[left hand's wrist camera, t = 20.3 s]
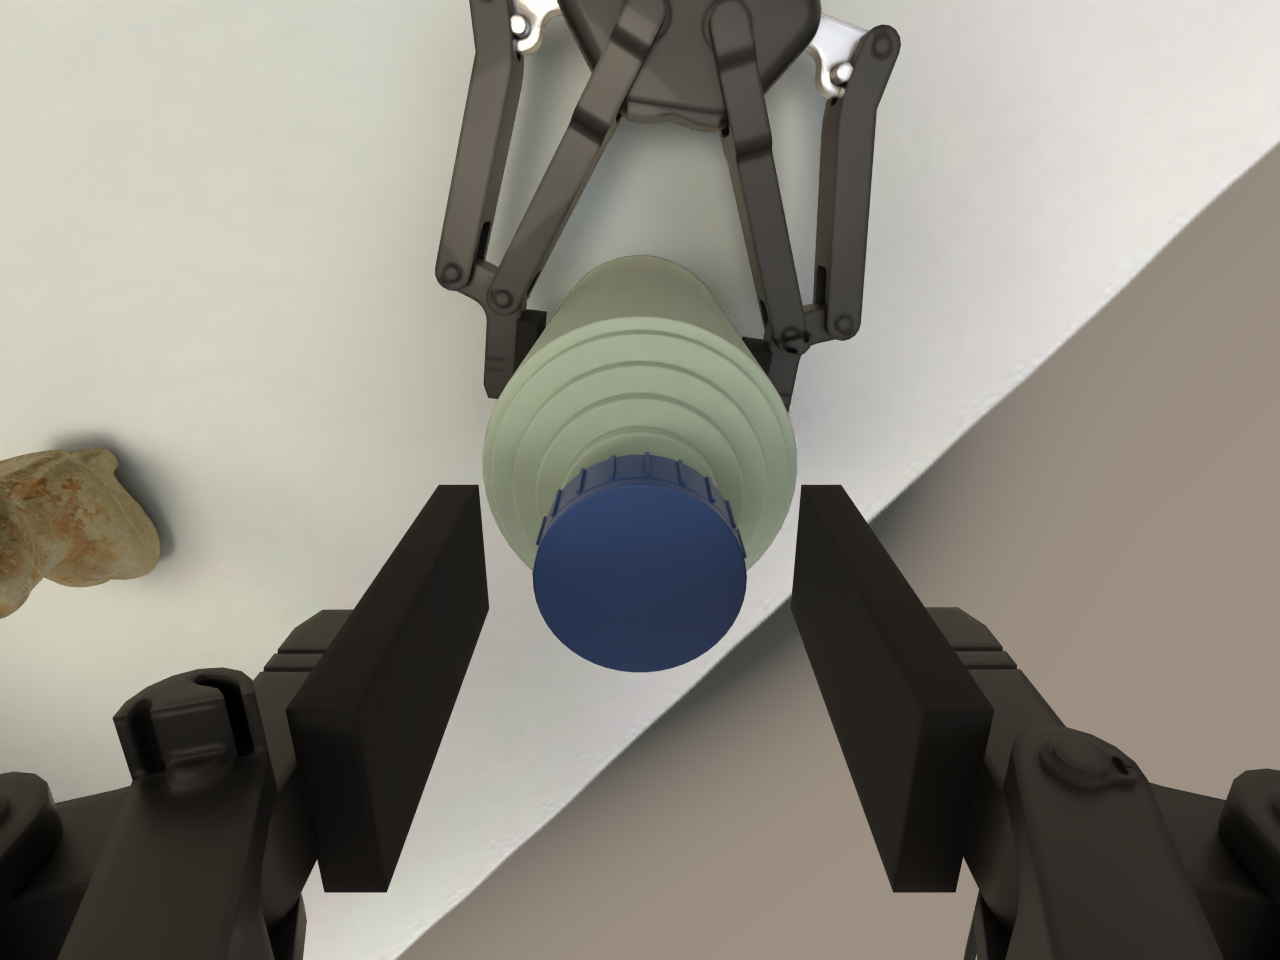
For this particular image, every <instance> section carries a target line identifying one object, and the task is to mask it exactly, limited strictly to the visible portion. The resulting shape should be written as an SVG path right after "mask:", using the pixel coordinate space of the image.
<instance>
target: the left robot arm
mask: <svg viewBox="0 0 1280 960" xmlns="http://www.w3.org/2000/svg"><path fill="white" fill-rule="evenodd" d="M488 610H489V601H488V589H487V578H486V566H485V555H484V543H483V531H482V520H481V508H480V497H479V485H438V487H437V488H436V490H435V491H434V493H433V494H432V496H431V497H430V499H429V500H428V502H427V503H426V505H425V506H424V507H423V509H422V510H421V512H420V513H419V515H418V516H417V518H416V519H415V521H414V522H413V524H412V525H411V526H410V528H409V529H408V531H407V532H406V534H405V535H404V537H403V538H402V540H401V541H400V543H399V544H398V545H397V547H396V548H395V550H394V551H393V553H392V554H391V556H390V557H389V559H388V560H387V562H386V563H385V565H384V566H383V567H382V569H381V570H380V572H379V573H378V575H377V576H376V578H375V579H374V581H373V582H372V584H371V585H370V586H369V588H368V589H367V591H366V592H365V594H364V595H363V597H362V598H361V600H360V601H359V603H358V604H357V606H356V607H355V608H354V610H322V611H320V612H318V613H317V614H315V615H314V616H312V617H311V618H309V619H308V620H306V621H305V622H303V623H302V624H300V625H299V626H297V627H296V628H295V629H294V630H293V631H292V632H291V634H290V635H289V636H288V637H287V639H286V640H285V641H284V642H283V644H282V645H281V646H280V648H279V649H278V654H274V655H273V656H272V658H271V659H270V660H269V661H268V663H267V664H266V665H265V667H264V671H263V672H260V673H259V674H258V675H257V677H256V678H255V679H254V680H253V681H252V679H251V678H249V677H248V676H247V675H245V674H244V673H243V672H242V671H238V670H233V669H228V668H208V669H197V670H193V671H189V672H186V673H182V674H178V675H174V676H171V677H169V678H167V679H164V680H162V681H160V682H158V683H155V684H153V685H151V686H149V687H146V688H145V689H144V690H142V691H141V692H139V693H138V694H136V695H135V696H134V697H132V698H131V699H129V700H128V701H126V702H125V703H124V705H123V706H122V707H121V708H120V709H119V711H118V712H117V713H116V714H115V716H114V717H113V721H114V724H115V727H116V730H117V733H118V736H119V739H120V743H121V746H122V749H123V752H124V755H125V758H126V761H127V764H128V767H129V771H130V774H131V777H132V780H133V781H132V783H131V786H128V787H124V788H121V789H118V790H113V791H109V792H104V793H100V794H95V795H91V796H86V797H81V798H77V799H72V800H68V801H63V802H59V803H55V802H54V799H53V797H52V794H51V791H50V789H49V786H48V783H47V782H46V781H44V780H43V779H42V778H40V777H39V776H37V775H36V774H31V773H21V772H10V773H4V774H0V960H303V952H304V943H305V933H306V923H307V920H306V913H305V907H304V902H303V897H302V893H301V892H302V889H303V887H304V885H305V883H306V881H307V879H308V877H309V875H310V873H311V871H312V869H313V867H314V865H315V863H316V860H317V859H318V864H319V869H320V873H321V878H322V883H323V887H324V892H387V890H388V887H389V885H390V882H391V879H392V876H393V873H394V871H395V868H396V865H397V862H398V860H399V857H400V854H401V851H402V849H403V846H404V843H405V840H406V837H407V835H408V832H409V829H410V826H411V824H412V821H413V818H414V815H415V813H416V810H417V807H418V804H419V801H420V799H421V796H422V793H423V790H424V788H425V785H426V782H427V779H428V777H429V774H430V771H431V768H432V765H433V763H434V760H435V757H436V754H437V752H438V749H439V746H440V743H441V740H442V738H443V735H444V732H445V729H446V727H447V724H448V721H449V718H450V716H451V713H452V710H453V707H454V704H455V702H456V699H457V696H458V693H459V691H460V688H461V685H462V682H463V680H464V677H465V674H466V671H467V668H468V666H469V663H470V660H471V657H472V655H473V652H474V649H475V646H476V644H477V641H478V638H479V635H480V632H481V630H482V627H483V624H484V621H485V619H486V616H487V613H488ZM791 610H792V613H793V616H794V619H795V621H796V624H797V627H798V630H799V632H800V635H801V638H802V641H803V643H804V646H805V649H806V652H807V654H808V657H809V660H810V663H811V666H812V668H813V671H814V674H815V677H816V680H817V682H818V685H819V688H820V690H821V693H822V696H823V699H824V702H825V704H826V707H827V710H828V713H829V716H830V718H831V721H832V724H833V726H834V729H835V732H836V735H837V738H838V740H839V743H840V746H841V749H842V751H843V754H844V757H845V760H846V763H847V765H848V768H849V771H850V774H851V777H852V779H853V782H854V785H855V788H856V790H857V793H858V796H859V799H860V801H861V804H862V807H863V810H864V813H865V815H866V818H867V821H868V823H869V826H870V829H871V832H872V834H873V837H874V840H875V843H876V846H877V849H878V851H879V854H880V857H881V860H882V862H883V865H884V868H885V871H886V873H887V876H888V879H889V882H890V885H891V887H892V890H893V892H956V887H957V883H958V878H959V873H960V869H961V864H962V859H963V857H964V859H965V861H966V863H967V865H968V867H969V869H970V871H971V873H972V875H973V877H974V879H975V881H976V884H977V886H978V888H979V893H978V897H977V902H976V906H975V910H974V915H973V919H972V923H971V928H970V932H969V936H968V941H967V945H966V950H965V956H964V960H975V958H976V954H977V960H1280V771H1279V770H1272V769H1258V770H1248V771H1245V772H1243V773H1242V774H1241V775H1239V776H1238V777H1237V778H1235V779H1234V781H1233V783H1232V786H1231V789H1230V791H1229V794H1228V797H1227V799H1226V800H1222V799H1218V798H1213V797H1209V796H1204V795H1199V794H1195V793H1190V792H1186V791H1181V790H1177V789H1172V788H1168V787H1163V786H1160V785H1156V784H1153V783H1149V782H1148V780H1147V778H1146V777H1145V775H1144V774H1143V773H1142V771H1141V770H1140V768H1139V767H1138V766H1137V764H1136V763H1135V762H1134V761H1133V760H1132V759H1130V758H1129V757H1128V756H1127V755H1125V754H1124V753H1123V752H1122V751H1120V750H1119V749H1118V748H1117V747H1115V746H1113V745H1111V744H1109V743H1107V742H1105V741H1103V740H1101V739H1099V738H1097V737H1095V736H1093V735H1091V734H1088V733H1084V732H1081V731H1078V730H1074V729H1071V728H1067V727H1066V726H1065V725H1064V724H1063V722H1062V721H1061V720H1060V719H1059V717H1058V716H1057V715H1056V714H1055V712H1054V711H1053V710H1052V709H1051V707H1050V706H1049V705H1048V704H1047V702H1046V701H1045V700H1044V699H1043V697H1042V696H1041V695H1040V694H1039V692H1038V691H1037V690H1036V688H1035V687H1034V686H1033V685H1032V683H1031V682H1030V681H1029V680H1028V678H1027V677H1026V676H1025V675H1024V673H1023V672H1022V671H1021V670H1020V669H1017V665H1016V663H1015V662H1014V661H1013V660H1012V658H1011V657H1010V656H1009V654H1008V653H1007V652H1006V651H1003V647H1002V646H1001V644H1000V643H999V642H998V641H997V639H996V638H995V637H994V636H993V634H992V633H991V632H990V631H989V629H988V628H987V627H986V626H985V625H984V624H982V623H981V622H979V621H978V620H976V619H975V618H973V617H972V616H970V615H969V614H967V613H965V612H964V611H962V610H961V609H959V608H958V607H924V606H923V604H922V603H921V601H920V600H919V598H918V597H917V595H916V594H915V592H914V591H913V589H912V588H911V587H910V585H909V584H908V582H907V581H906V579H905V578H904V576H903V575H902V573H901V572H900V570H899V569H898V567H897V566H896V565H895V563H894V562H893V560H892V559H891V557H890V556H889V554H888V553H887V551H886V550H885V548H884V547H883V546H882V544H881V543H880V541H879V540H878V538H877V537H876V535H875V534H874V532H873V531H872V529H871V528H870V527H869V525H868V524H867V522H866V521H865V519H864V518H863V516H862V515H861V513H860V512H859V510H858V509H857V507H856V506H855V505H854V503H853V502H852V500H851V499H850V497H849V496H848V494H847V493H846V491H845V490H844V488H843V487H842V485H801V497H800V508H799V520H798V531H797V543H796V555H795V566H794V578H793V589H792V601H791Z"/></svg>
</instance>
